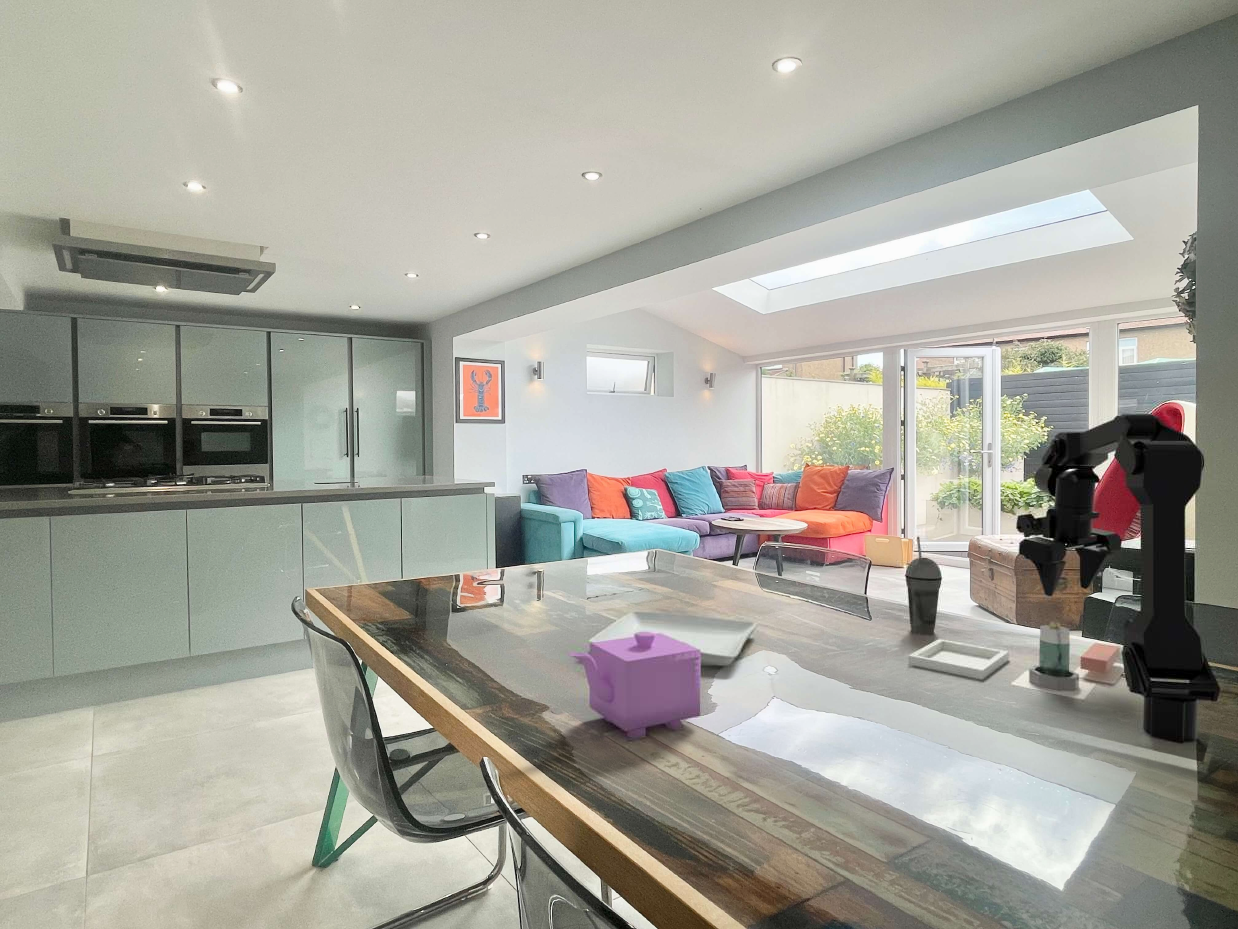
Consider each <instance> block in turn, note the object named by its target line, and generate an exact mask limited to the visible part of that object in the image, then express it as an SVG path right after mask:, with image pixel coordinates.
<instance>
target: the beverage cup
mask: <svg viewBox="0 0 1238 929" xmlns="http://www.w3.org/2000/svg"><path fill="white" fill-rule="evenodd" d="M920 539H921V538H920V536H916V541H917V543H916V544H917V550H918V552H917V553H918V557H917V558H915V559H913V560H911V561H910V562H909V564H908V565H907V566H906V570H905V574H904V577H905V582H906V586H907V587H906V588H907V599H908V600H907V601H908V614H909V615H908V616H909V624H910V631H911V632H912V633H914V632H915V634H918V633H919V635H933V634H934V633H935V628H936V621H937V610H938V603H939V602H938V601H939V593H940V589H941V585H942V580H943V577H942V572H941V569H940V567H939V565H938V564H937V562H935V561H934V560H933V559H932V558H931V559H930V558H928V557H923V556H922V551H921V550H922V548H921V540H920ZM932 633H933V634H932Z"/></svg>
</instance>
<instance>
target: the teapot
mask: <svg viewBox="0 0 1238 929" xmlns="http://www.w3.org/2000/svg"><path fill="white" fill-rule="evenodd" d="M634 636H635V637H628V638H621V639H614V640H607V641H601V642H594V643H591V644H590V643H589V653H585V652H577V653H571V654H570V655H569V657H572V658H574V659H577V660H578V661H580V662H581V664H582V666H583V668H584V671H585V676H586V679H587V683H588V686H589V709H592V710H593V711H594V712H596V713H597V714H599V715H600V716H601V717H603V718H604V720H605V721H607V722H608V723H612V724H613V725H614V726H616V727H618V728H619V729H620V730H622V731H624V732H626V733H627V737H629V738H633V739H641V738H645V737H646V735H647V734H646V733H647V728H650V727H655V726H658V725H665V728H668V729H670V730H680V729H683V728H684V724H683V723H682V720H686V719H691V718H696V717H699V716H701V651H700V649H697V648H695V647H693V646H690V645H689V644H687V643H685V642H681V641H678V640H676V639H674V638H671V637H669V636H666V635H664V634H661V633H656V634H654V633H651V632H637V633H635V634H634Z"/></svg>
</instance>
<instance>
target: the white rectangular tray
mask: <svg viewBox="0 0 1238 929" xmlns="http://www.w3.org/2000/svg"><path fill="white" fill-rule="evenodd" d="M1009 655H1010V652H1009V651H1007V650H1001V649H996V648H991V647H984V646H980V645H974V644H969V643H963V642H957V641H953V640H952V641H951V640H946V639H942V638H938V639H937V640H935V641H933V642H931V643H930V644H927V645H925V646H924V647H921V648H920V649H918V650H916V651H914V652H912V653H910V654H909V655H908V660H907V661H908V664H907V665H908V666H907V668H908V670H909V669H911V668H913V667H919V668H923V669H929V670H933V671H939V672H943V673H948V674H954V675H958V676H963V677H965V678H966V677H967V678H973V679H977V680H984V679H986V678H987V677H989V676H990V675H991V674H992V673H993V672H995V671H996V670H997V669H999V668H1000V667H1002V666H1003V665H1005V664H1006V663H1007V662H1008V661H1010V660H1009V659H1010V658H1009V657H1010V656H1009Z"/></svg>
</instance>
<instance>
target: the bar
mask: <svg viewBox="0 0 1238 929" xmlns="http://www.w3.org/2000/svg"><path fill="white" fill-rule="evenodd" d="M1119 659H1120V646H1117V645H1111V644H1105V643H1099V642H1094V643H1093V644H1092V645H1091V646H1090V647H1089V648H1088V649H1087V650H1086V651H1085V652H1084V653H1083V654H1081V656H1080V665H1081V667H1080V669H1085V670H1091V671H1096V672H1101V673H1107V672H1108V671H1109V670H1110V668H1111V667H1112V666H1113V665H1114V663H1117V661H1118V660H1119Z"/></svg>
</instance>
